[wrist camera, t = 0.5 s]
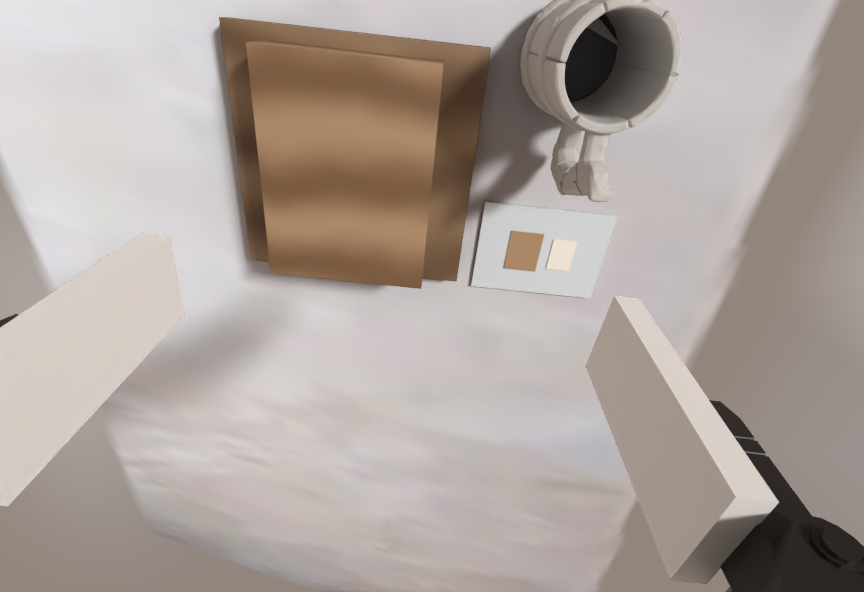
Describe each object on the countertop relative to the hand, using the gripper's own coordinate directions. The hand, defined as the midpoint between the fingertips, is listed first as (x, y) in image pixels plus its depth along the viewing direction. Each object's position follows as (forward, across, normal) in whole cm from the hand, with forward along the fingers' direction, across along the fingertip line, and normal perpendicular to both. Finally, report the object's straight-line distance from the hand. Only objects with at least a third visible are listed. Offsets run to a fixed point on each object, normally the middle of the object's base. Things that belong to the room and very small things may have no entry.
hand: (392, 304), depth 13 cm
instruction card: (+24, +11, -8) cm, 28 cm away
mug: (+24, +10, +5) cm, 27 cm away
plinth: (+24, -5, -3) cm, 25 cm away
